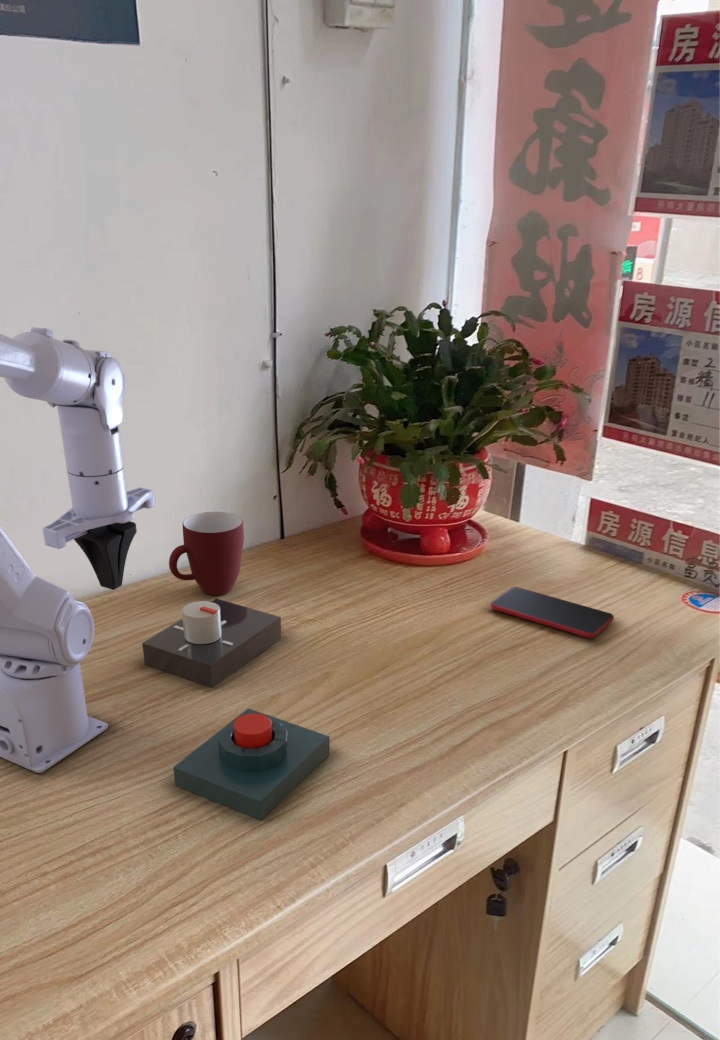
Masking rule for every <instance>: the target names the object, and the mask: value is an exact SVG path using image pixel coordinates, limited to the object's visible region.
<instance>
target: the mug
mask: <svg viewBox="0 0 720 1040" xmlns="http://www.w3.org/2000/svg"><path fill="white" fill-rule="evenodd" d="M244 531H245V529H244V520H243V518H241V516H239V515H237V514H234V513H232V512H226V511H225V512H224V511H205V512H199V513H195V514H192V515H189V516H188V517H186V518H185V519H183V521H182V538H183V544H181V545H178V546H176V547H175V548H174V549H173V550H172V551H171V553H170V556H169V559H168V567H169V571H170V572H171V574H172V576H174V578H176V579H178V580H181V581H195V582H196V584H197V585H198V586H199V588H200V590H202V592H203V593H204V594H206V595H209V596H222V595H226V594H229V593H230V592H231V591H232V589H233V587H234V586H235V584H236V582H237V579H238V577H239V575H240V572H241V565H242V557H243V552H244V543H245V542H244V541H245V533H244ZM184 554H186V557H187V561H188V564H189V569H190V571H191V573H188V574H187V573H186V574H184V573H182V572H180V571H179V569H178V562H179V559H180V557H181V556H182V555H184Z"/></svg>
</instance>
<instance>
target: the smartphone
mask: <svg viewBox="0 0 720 1040" xmlns="http://www.w3.org/2000/svg"><path fill="white" fill-rule="evenodd" d="M490 607H491V608H492V609H493V610H494V611H498V612H500V613H504V614H508V615H511V616H514V617H518V618H521V619H524V620H527V621H531V622H533V623H537V624H540V625H544V626H547V627H551V628H554V629H558V630H561V631H564V632H566V633H570V634H573V635H575V636H579V637H582V638H586V639H594V638H596V637H597V636H598V635H599V634H600V633H601V632H602V631H603V630H604V629H606V627H607V626H608V625H610V623H611V622H613V621H614V620H615V616H614V614H612V613H610V612H607V611H604V610H600V609H597V608H593V607H590V606H586V605H582V604H579V603H575V602H572V601H568V600H564V599H562V598H558V597H555V596H550V595H548V594H544V593H541V592H536V591H533V590H529V589H526V588H522V587H519V586H513V587H511V588H509V589H508V590H506V591H505V592H504V593H502V594H501V595H500V596H498V597H497V598H495V599H493V600H492V601H491V602H490Z"/></svg>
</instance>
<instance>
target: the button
mask: <svg viewBox="0 0 720 1040" xmlns="http://www.w3.org/2000/svg"><path fill="white" fill-rule="evenodd" d="M236 718H237V717H236ZM271 740H272V723H271V720H270V719H269V718H268V717H267V716H265V715H262V714H246V715H243V716H241V717H239V718H237V719H236V720H235V722H234V741H235V743H236V744H237V745H238V746H240V747H243V748H260V747H263V746H266V745H268V744H269V743H270V742H271Z"/></svg>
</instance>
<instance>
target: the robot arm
mask: <svg viewBox="0 0 720 1040" xmlns="http://www.w3.org/2000/svg"><path fill="white" fill-rule="evenodd" d="M0 378H4V381H5V383H6V384H7V385H8V387H9V388H10V389H11V390H12V391H13V392H14V393H16V394H17V395H19V396H21V397H24V398H28V399H32V400H38V401H42V402H46V404H48V405H49V406H50V407H51V408H53V409H54V408H55V407H57V415H58V419H59V427H60V433H61V440H62V446H63V455H64V459H65V466H66V467H65V468H66V473H67V479H68V487H69V493H70V501H71V508H70V509H68V510H67V511H66V512H64V513H63V514H62V515H60V517H58V518H57V519H55V521H53V522H52V523H50V524H48V525H46V526H44V527H42V534H43V540H44V545H45V546H47V547H50V548H53V549H57V550H61V549H64V548H65V547H66V546H67V543H68V542H71V541H74V542H75V543H76V544H77V545H78V546H79V548H80V549H81V550H82V551H83V553H84V554H85V556H86V558H87V559H88V561H89V563H90V565H91V567H92V569H93V571H94V573H95V576H96V578H97V581H98V583H99V585H100V587H103V588H105V589H109V590H116V589H118V588H120V587H122V586H123V579H124V573H125V566H126V563H127V562H126V561H127V558H128V553H129V550H130V547H131V545H132V542H133V540H134V537H135V536H136V534H137V532H138V530H137V524H136V522H134V521H133V520H135V513H136V512H138V511H140V510H143V509H152V508H154V507H155V497H154V495H155V494H154V490H153V489H150V488H144V487H137V488H134V489H131V490H127V486H126V485H127V483H126V477H125V476H126V475H125V467H124V458H123V452H122V451H123V450H122V443H121V434H120V433H121V432H120V424H122V423H123V417H124V412H123V411H124V410H123V400H124V395H125V389H126V376H125V374H124V373H123V369H122V366H121V364H120V362H119V360H117V358H115V357H113V356H112V354H110V353H109V352H108V351H106V350H93V349H84V348H82V347H80V342H79V341H77V340H74V339H62V340H59V339H56V338H54V331H53V330H52V329H49V328H45V327H33V326H32V327H31V328H30V331H25V332H20V333H18V334H16V335H15V336H13V337H11V336H10V337H9V336H7V335H5V334H2V333H0ZM94 636H95V623H94V617H93V615H92V613H91V610H90V608H89V607H88V605H87V604H86V603H85V602H83V601H79V600H75V598H74V597H72V596H71V594H70V592H69V591H67V590H66V589H65V588H63V587H60V586H58V585H56V584H54V583H52V582H49V581H48V580H45V579H43V578H41V577H40V576H37V575H36V574H35V573H34V572H33V570H32V569H31V568H30V566H29V564H28V563H27V562H26V561H25V559H24V558H23V556H22V555H21V553H20V552H19V550H18V549H17V548H16V546H15V545H14V543H13V542H12V541H11V539H10V538H9V536H8V535H7V534H6V532H5V531H4V530H3V528H2V527H1V526H0V758H2V759H4V760H7V761H9V762H11V763H14V764H15V765H18V766H20V767H22V768H25V769H27V770H29V771H32V772H34V773H37V774H41V773H44V772H46V771H47V770H48V769H50V768H51V767H53V766H54V765H56V764H57V763H59V762H60V761H62V760H63V759H65V758H66V757H68V756H70V754H72V753H74V752H75V751H76V750H78V749H80V748H81V747H82V746H84V745H85V744H87V743H88V742H90V741H91V740H93V739H94V738H96V737H97V736H99V735H100V734H102V733H103V732H105V731H106V730H107V729H108V728H109V724H108V723H107V722H106V721H102V720H99V719H97V718H95V717H93V716H89V715H88V710H87V709H88V708H87V702H86V697H85V689H84V682H83V677H82V671H81V663H82V661H83V660H84V659H85V658H86V657H87V655H88V654H89V652H90V650H91V649H92V645H93V641H94V638H95V637H94Z"/></svg>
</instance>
